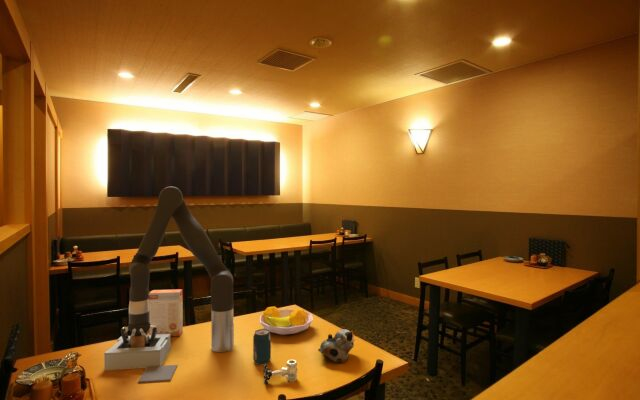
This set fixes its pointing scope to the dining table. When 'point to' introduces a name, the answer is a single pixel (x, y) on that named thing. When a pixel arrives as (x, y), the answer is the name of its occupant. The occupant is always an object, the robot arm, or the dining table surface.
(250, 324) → the dining table surface
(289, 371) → the valve
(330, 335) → the grey metal pump housing
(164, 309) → the cracker box
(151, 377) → the rubber pad
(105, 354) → the box
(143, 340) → the walnut block
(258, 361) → the soda can
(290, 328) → the fruit bowl
